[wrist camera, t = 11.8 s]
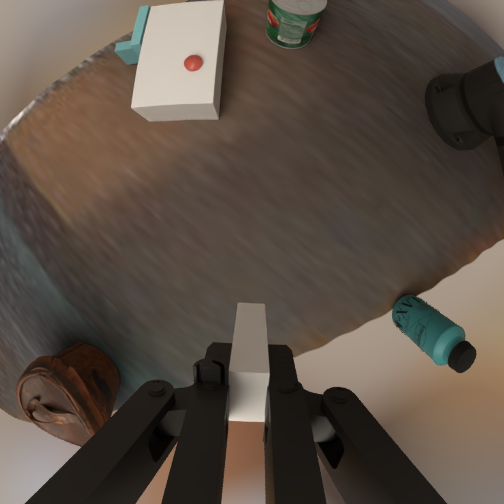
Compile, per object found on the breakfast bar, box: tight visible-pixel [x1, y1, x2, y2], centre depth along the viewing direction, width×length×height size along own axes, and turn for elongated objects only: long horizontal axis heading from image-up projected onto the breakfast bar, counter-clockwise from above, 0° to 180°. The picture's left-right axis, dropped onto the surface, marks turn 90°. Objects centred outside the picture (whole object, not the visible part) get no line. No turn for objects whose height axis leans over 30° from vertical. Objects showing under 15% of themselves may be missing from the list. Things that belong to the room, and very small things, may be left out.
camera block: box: [131, 0, 227, 122], centre depth 34 cm, size 11×20×9 cm, turn 177°
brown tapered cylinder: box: [16, 342, 120, 447], centre depth 39 cm, size 18×20×18 cm
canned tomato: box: [265, 0, 327, 49], centre depth 32 cm, size 8×8×11 cm
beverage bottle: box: [392, 295, 476, 373], centre depth 37 cm, size 6×7×20 cm
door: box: [115, 5, 151, 65], centre depth 33 cm, size 4×8×8 cm, turn 177°
